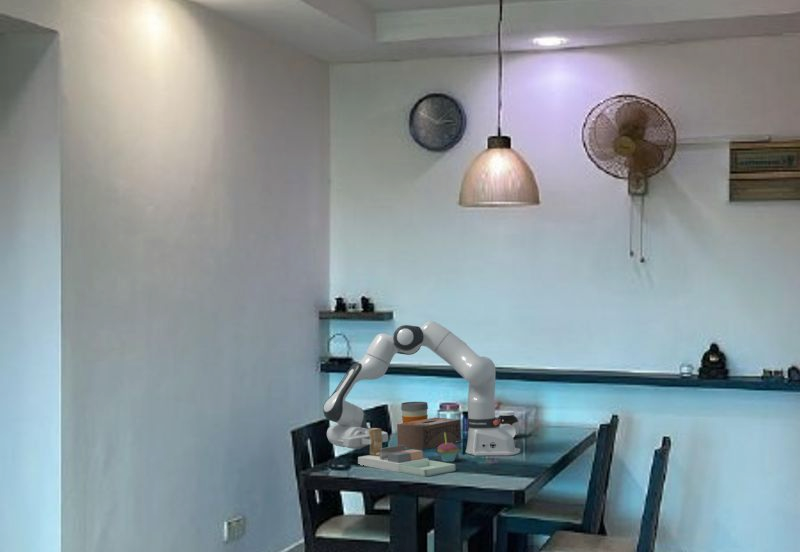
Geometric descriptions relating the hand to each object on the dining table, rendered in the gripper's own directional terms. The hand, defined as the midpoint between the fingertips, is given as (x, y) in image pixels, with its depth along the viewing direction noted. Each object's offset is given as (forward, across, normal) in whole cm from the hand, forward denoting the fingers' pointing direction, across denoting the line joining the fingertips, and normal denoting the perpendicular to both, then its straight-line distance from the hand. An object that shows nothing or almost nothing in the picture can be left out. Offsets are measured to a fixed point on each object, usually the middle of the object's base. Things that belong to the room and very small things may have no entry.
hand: (377, 441), depth 415 cm
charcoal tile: (+17, -3, +6) cm, 18 cm away
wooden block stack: (+4, 0, +5) cm, 6 cm away
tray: (+30, 0, +8) cm, 31 cm away
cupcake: (+18, +21, +9) cm, 29 cm away
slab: (+10, 0, +8) cm, 13 cm away
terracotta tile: (+17, +3, +6) cm, 18 cm away
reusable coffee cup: (-45, +58, +9) cm, 74 cm away
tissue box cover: (-20, +45, +9) cm, 50 cm away
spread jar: (-4, +78, +9) cm, 79 cm away
